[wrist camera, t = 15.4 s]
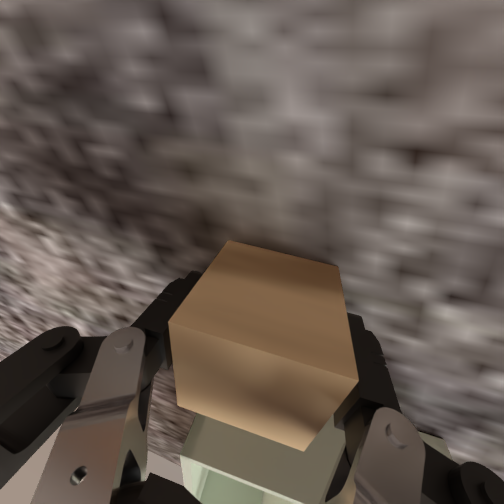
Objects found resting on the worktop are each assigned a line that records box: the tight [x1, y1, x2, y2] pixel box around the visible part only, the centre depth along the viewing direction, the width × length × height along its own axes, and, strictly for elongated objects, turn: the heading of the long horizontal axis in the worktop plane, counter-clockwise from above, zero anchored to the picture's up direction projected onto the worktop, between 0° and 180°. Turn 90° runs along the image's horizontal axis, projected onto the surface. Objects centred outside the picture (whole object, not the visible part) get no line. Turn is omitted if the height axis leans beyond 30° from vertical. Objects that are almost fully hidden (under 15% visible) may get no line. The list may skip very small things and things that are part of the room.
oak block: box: [168, 240, 359, 452], centre depth 9 cm, size 5×5×5 cm
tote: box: [180, 413, 453, 504], centre depth 17 cm, size 19×15×5 cm
